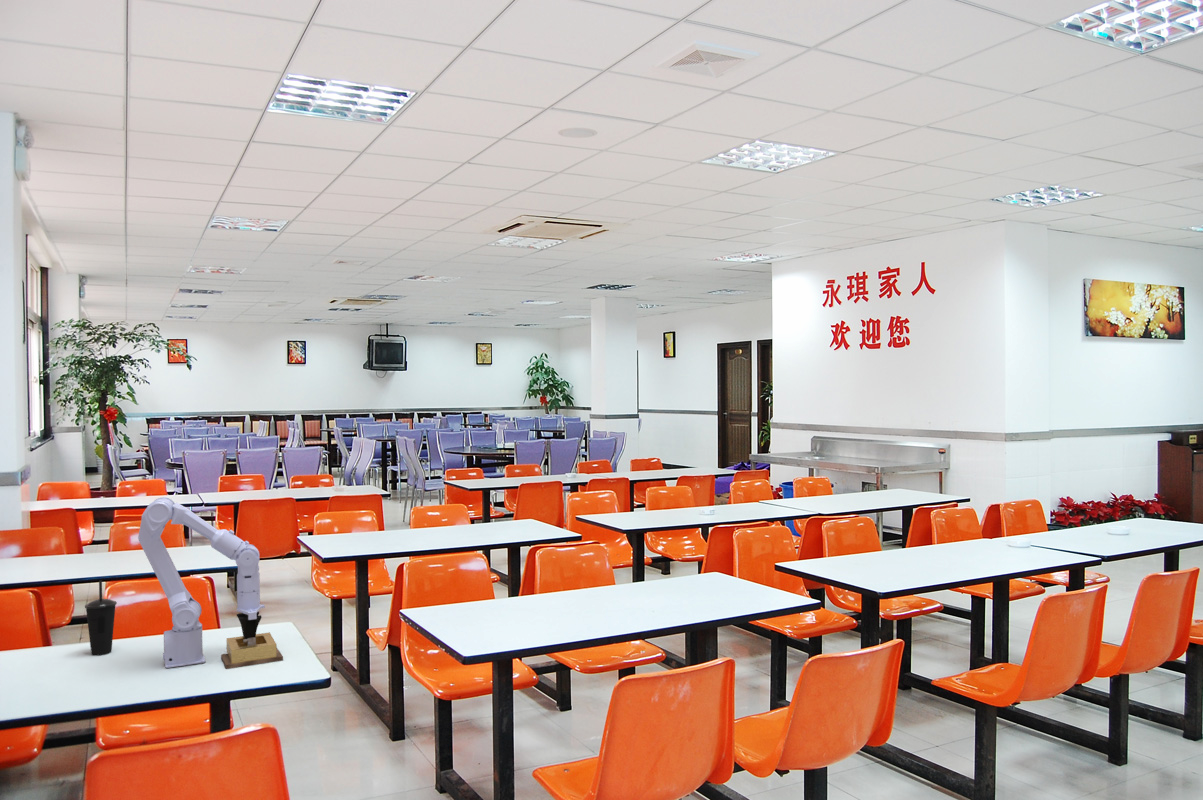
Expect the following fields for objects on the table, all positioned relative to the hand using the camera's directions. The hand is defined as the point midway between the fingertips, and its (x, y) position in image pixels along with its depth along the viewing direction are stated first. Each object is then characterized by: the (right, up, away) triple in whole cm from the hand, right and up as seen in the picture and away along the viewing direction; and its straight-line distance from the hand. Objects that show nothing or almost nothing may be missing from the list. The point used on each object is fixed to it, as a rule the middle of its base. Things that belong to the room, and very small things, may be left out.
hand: (249, 640), depth 236 cm
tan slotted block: (+2, -3, -4) cm, 5 cm away
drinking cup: (-42, -5, +4) cm, 43 cm away
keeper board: (+2, -4, -4) cm, 6 cm away
